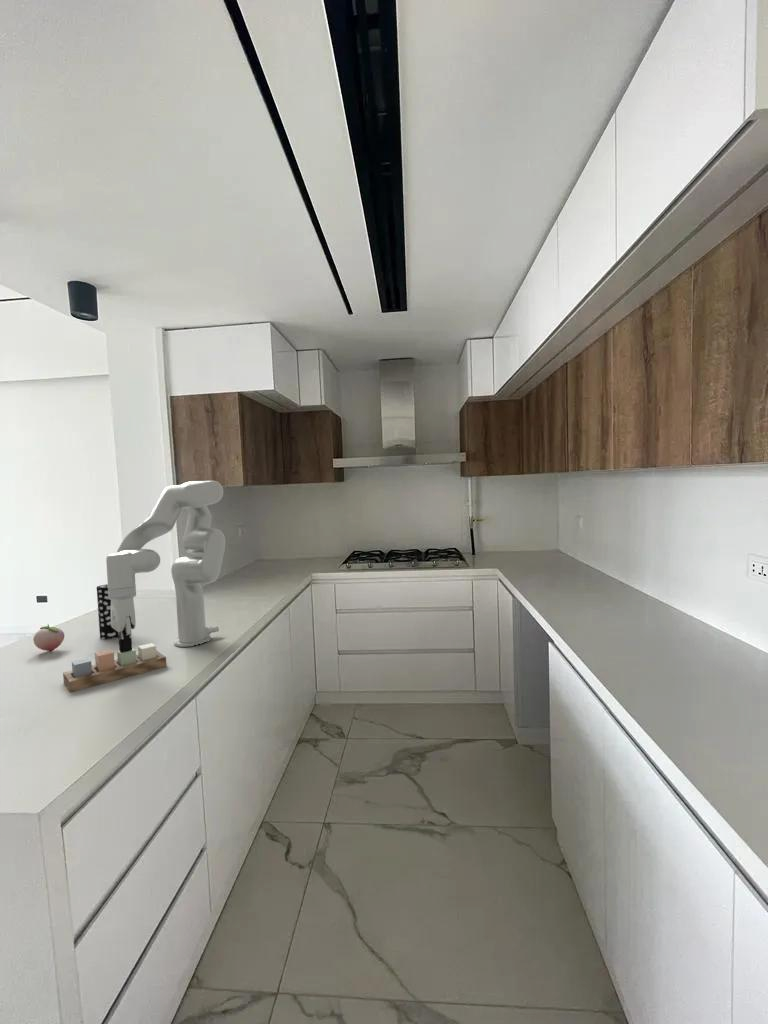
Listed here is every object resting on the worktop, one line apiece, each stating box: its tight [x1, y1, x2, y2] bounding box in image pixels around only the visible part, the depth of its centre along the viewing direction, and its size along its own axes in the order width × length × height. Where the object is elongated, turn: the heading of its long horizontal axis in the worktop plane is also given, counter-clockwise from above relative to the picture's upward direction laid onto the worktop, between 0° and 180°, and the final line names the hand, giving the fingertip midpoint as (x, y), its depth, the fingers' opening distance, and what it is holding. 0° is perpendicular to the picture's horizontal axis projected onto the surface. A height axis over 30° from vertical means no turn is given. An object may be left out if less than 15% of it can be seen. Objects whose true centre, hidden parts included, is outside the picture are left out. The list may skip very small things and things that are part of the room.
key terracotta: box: [94, 649, 115, 672], centre depth 144 cm, size 4×4×5 cm
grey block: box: [71, 657, 92, 678], centre depth 140 cm, size 4×4×5 cm
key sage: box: [116, 647, 137, 666], centre depth 148 cm, size 4×4×5 cm
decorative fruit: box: [32, 623, 65, 652], centre depth 169 cm, size 9×8×10 cm
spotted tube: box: [96, 583, 119, 640], centre depth 186 cm, size 8×8×20 cm
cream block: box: [137, 642, 157, 661], centre depth 152 cm, size 4×4×5 cm
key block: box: [62, 649, 168, 693], centre depth 146 cm, size 26×10×3 cm, turn 133°
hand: (125, 650), depth 147 cm, fingers closed
